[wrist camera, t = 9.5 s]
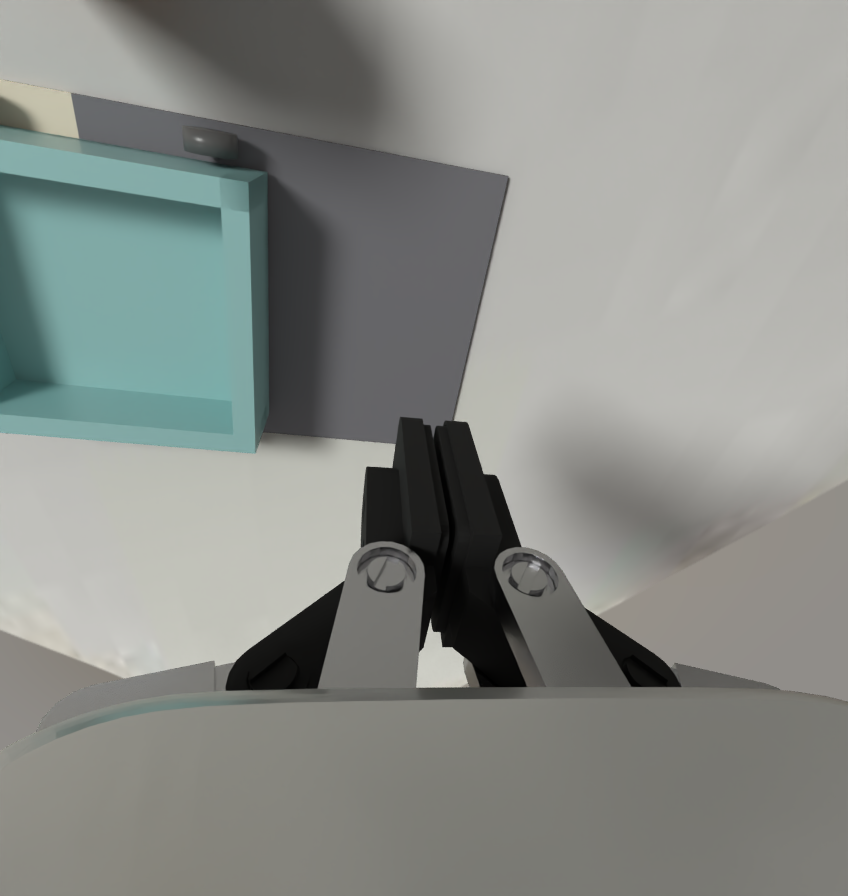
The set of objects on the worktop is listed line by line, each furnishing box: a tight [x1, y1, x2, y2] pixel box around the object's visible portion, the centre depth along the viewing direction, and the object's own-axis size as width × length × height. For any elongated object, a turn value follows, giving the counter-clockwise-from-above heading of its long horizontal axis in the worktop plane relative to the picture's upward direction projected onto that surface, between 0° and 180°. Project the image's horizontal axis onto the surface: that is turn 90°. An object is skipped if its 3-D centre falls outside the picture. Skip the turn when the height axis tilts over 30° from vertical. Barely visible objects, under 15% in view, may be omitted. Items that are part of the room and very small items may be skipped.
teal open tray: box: [0, 125, 269, 453], centre depth 21 cm, size 13×14×4 cm
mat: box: [0, 79, 508, 444], centre depth 24 cm, size 22×15×1 cm
